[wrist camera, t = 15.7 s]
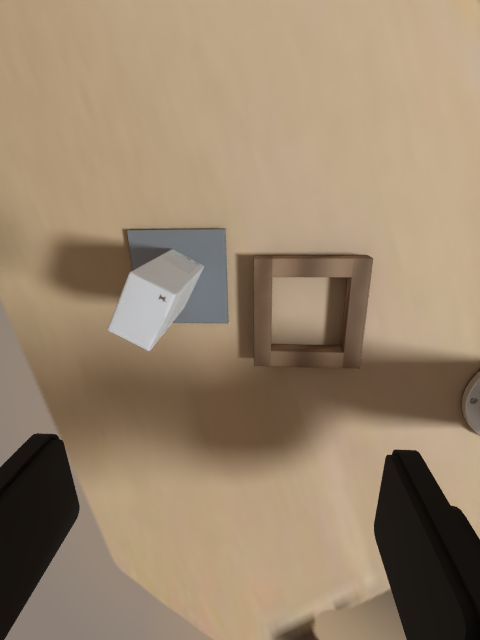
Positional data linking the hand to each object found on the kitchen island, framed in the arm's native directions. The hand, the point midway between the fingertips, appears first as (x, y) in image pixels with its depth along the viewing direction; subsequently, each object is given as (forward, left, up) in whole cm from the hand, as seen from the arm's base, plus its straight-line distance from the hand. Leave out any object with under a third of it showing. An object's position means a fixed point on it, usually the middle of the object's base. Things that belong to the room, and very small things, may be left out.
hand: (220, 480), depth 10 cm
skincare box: (+9, +1, -30) cm, 31 cm away
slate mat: (+9, +1, -30) cm, 32 cm away
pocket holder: (-6, +5, -30) cm, 31 cm away
